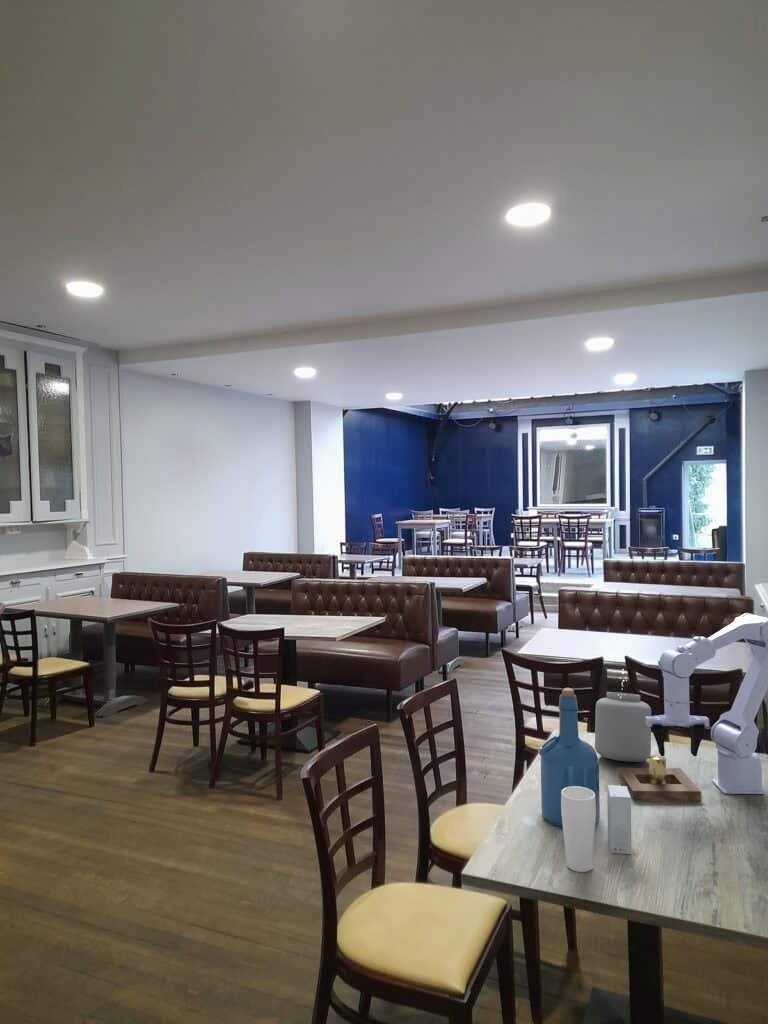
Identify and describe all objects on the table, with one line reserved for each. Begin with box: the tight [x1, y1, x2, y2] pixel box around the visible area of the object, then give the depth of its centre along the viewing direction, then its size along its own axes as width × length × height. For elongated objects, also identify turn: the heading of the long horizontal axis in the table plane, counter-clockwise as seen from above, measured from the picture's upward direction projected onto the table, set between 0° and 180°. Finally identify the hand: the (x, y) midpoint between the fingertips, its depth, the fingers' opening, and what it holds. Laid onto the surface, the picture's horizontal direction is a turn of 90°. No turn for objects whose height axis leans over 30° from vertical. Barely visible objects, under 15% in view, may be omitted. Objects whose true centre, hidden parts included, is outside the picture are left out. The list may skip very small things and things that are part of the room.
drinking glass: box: [561, 786, 597, 873], centre depth 138 cm, size 7×7×15 cm
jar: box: [594, 668, 652, 763], centre depth 193 cm, size 19×15×25 cm
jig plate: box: [617, 767, 702, 803], centre depth 173 cm, size 16×14×2 cm
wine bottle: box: [537, 687, 601, 829], centre depth 159 cm, size 14×13×30 cm
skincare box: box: [606, 784, 632, 855], centre depth 146 cm, size 6×4×12 cm
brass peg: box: [648, 754, 667, 784], centre depth 173 cm, size 4×4×8 cm
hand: (677, 754), depth 169 cm, fingers open, 7 cm apart
